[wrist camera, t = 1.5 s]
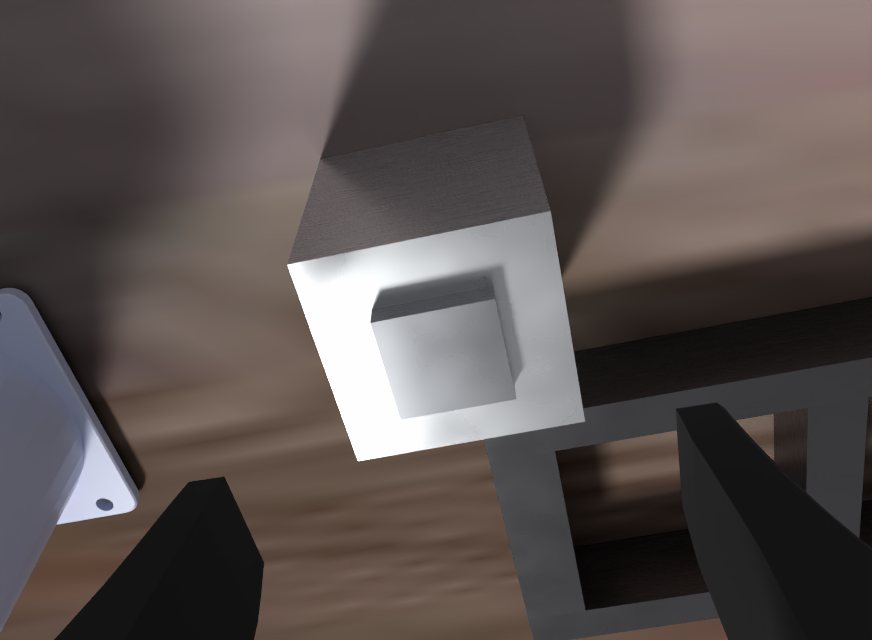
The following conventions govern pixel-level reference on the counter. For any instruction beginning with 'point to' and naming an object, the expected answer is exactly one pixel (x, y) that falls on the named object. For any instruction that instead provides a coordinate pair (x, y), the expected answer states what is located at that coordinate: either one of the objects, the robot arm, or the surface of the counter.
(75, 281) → the counter surface
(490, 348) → the block
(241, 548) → the robot arm
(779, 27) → the counter surface
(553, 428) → the grey flat rectangular frame
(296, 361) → the counter surface
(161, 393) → the counter surface
